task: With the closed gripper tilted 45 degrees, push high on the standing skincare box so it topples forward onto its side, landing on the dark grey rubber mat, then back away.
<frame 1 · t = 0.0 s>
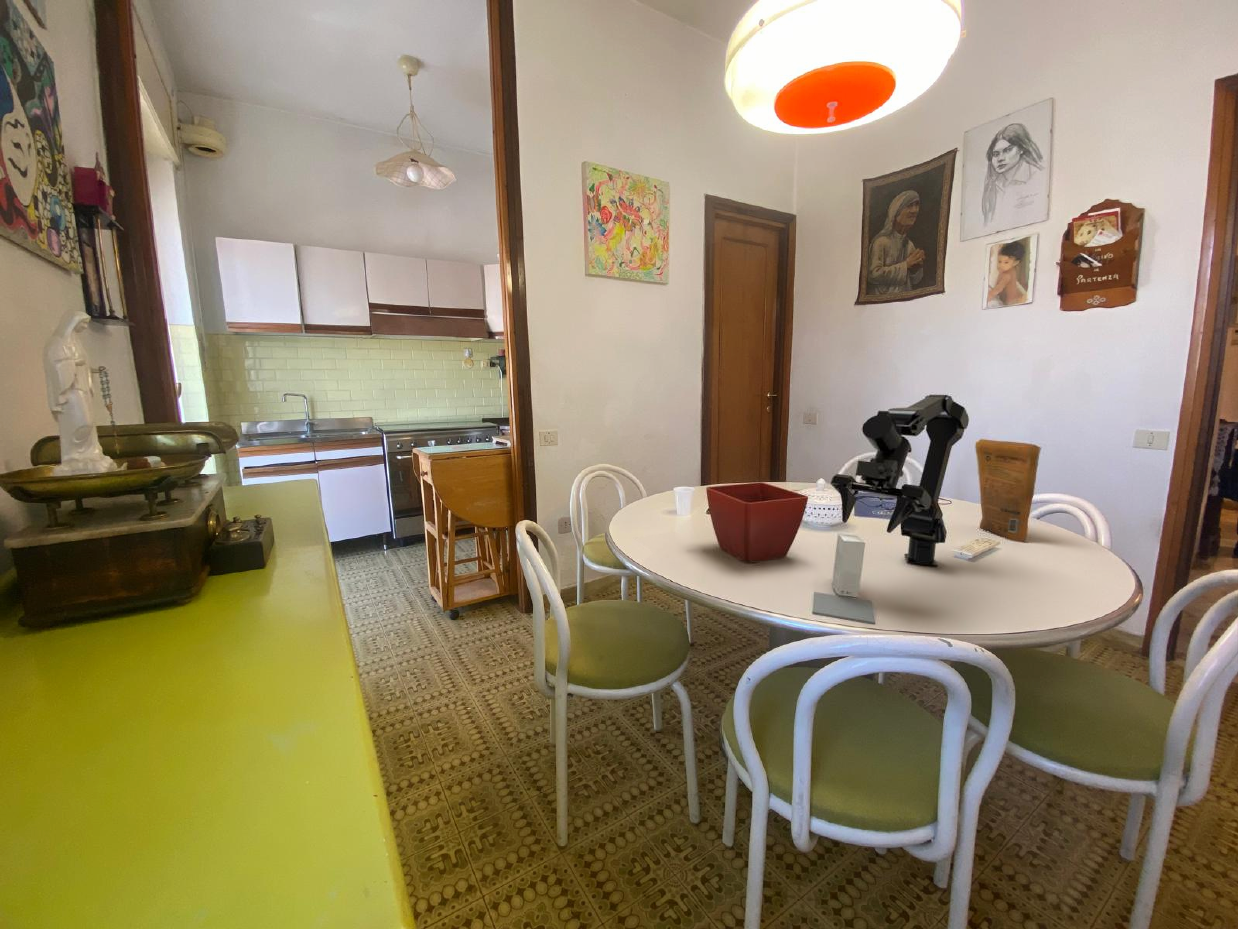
hand: (865, 527, 102), 15 cm above the table, tool tilted 35°, fingers open, 9 cm apart
skincare box: (844, 592, 105), on the table, touching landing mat
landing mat: (842, 607, 98), on the table
plant pot: (752, 553, 130), on the table
pancake mix bag: (998, 534, 146), on the table
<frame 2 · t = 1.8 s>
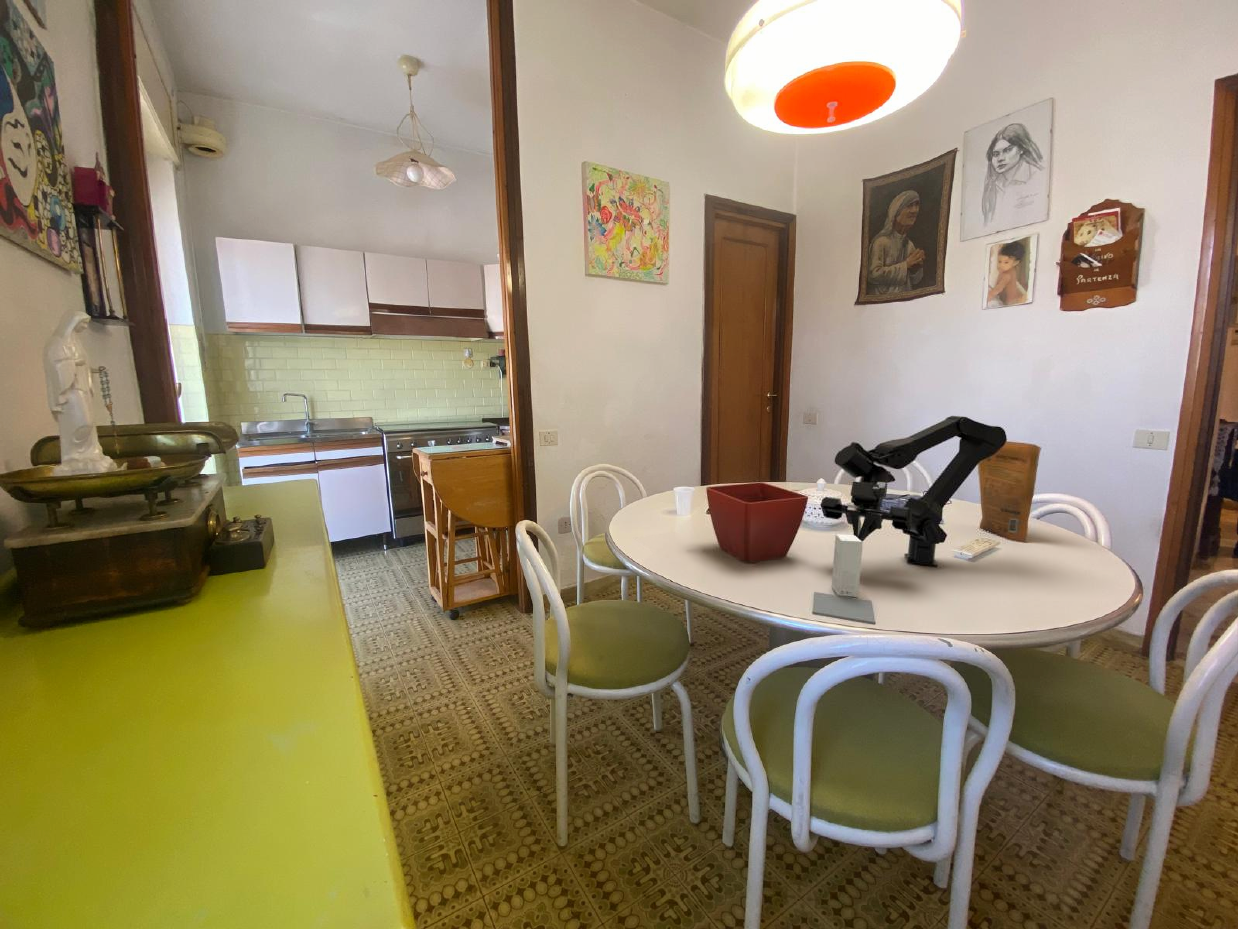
hand: (856, 544, 110), 9 cm above the table, tool tilted 45°, fingers closed
nothing on the table moved.
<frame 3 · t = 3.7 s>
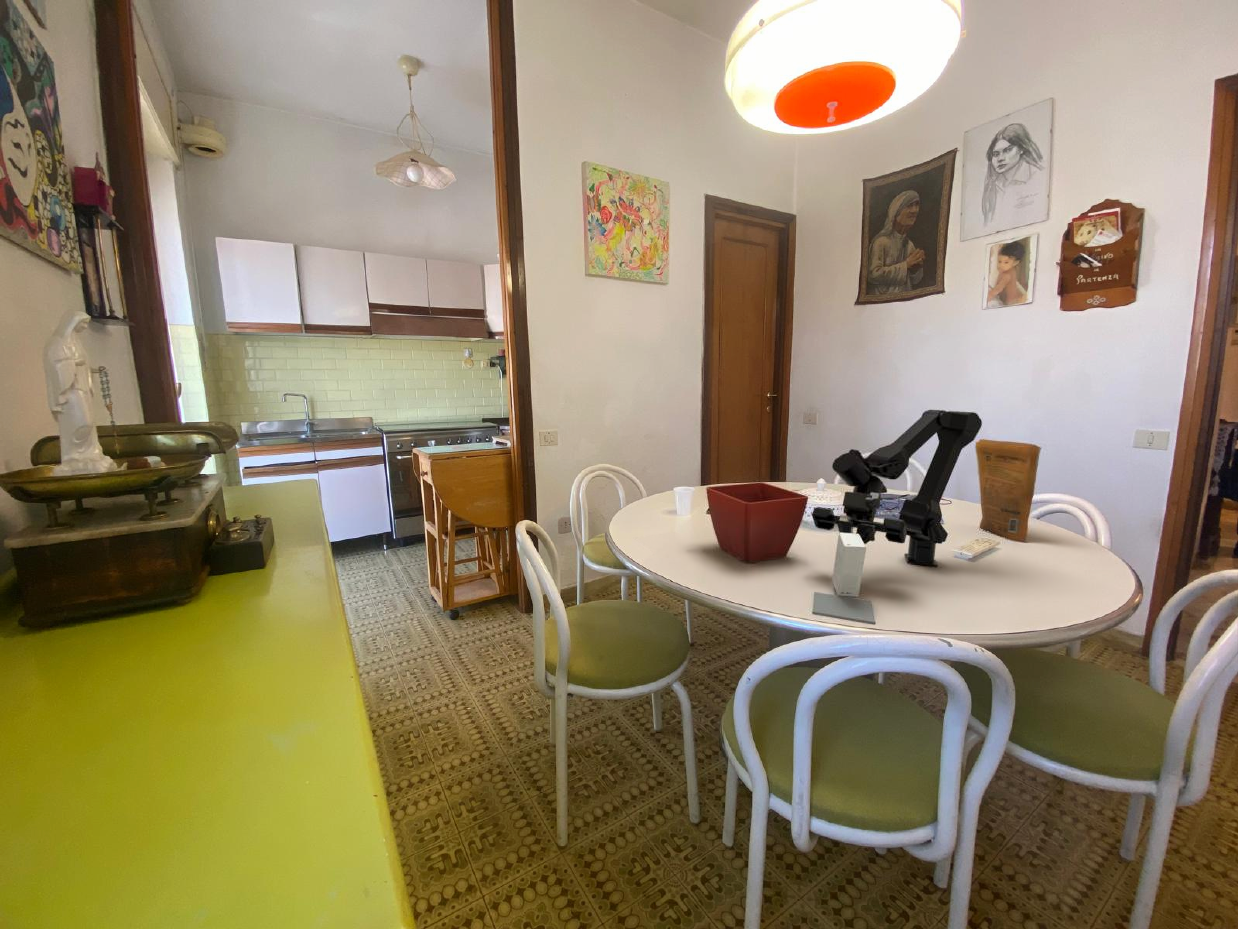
hand: (848, 556, 106), 7 cm above the table, tool tilted 45°, fingers closed
skincare box: (844, 589, 105), point 1 cm above the table, touching gripper, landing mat
everything else where it was.
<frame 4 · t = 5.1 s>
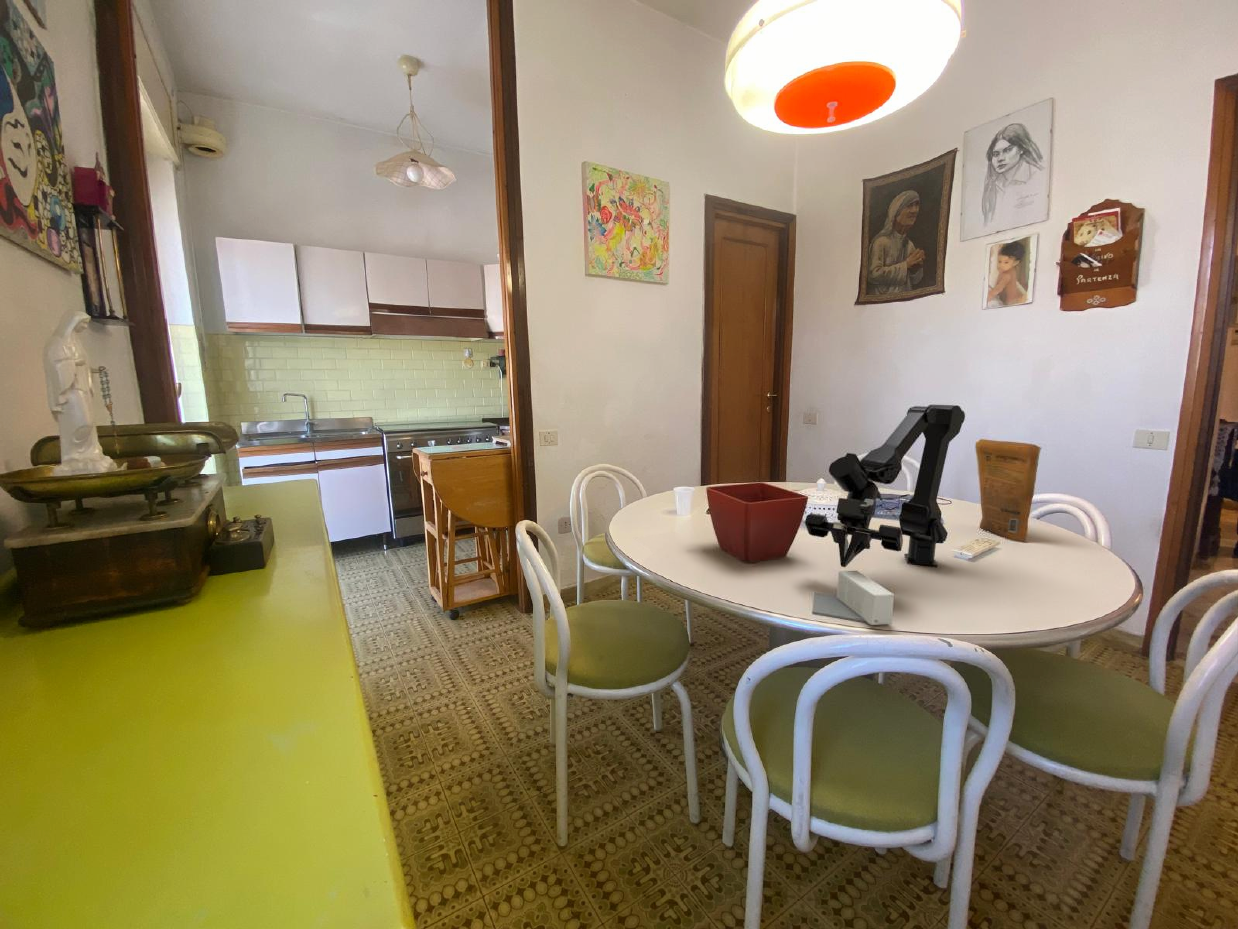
hand: (842, 566, 102), 7 cm above the table, tool tilted 45°, fingers closed
skincare box: (846, 583, 102), point 3 cm above the table, touching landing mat
everything else where it was.
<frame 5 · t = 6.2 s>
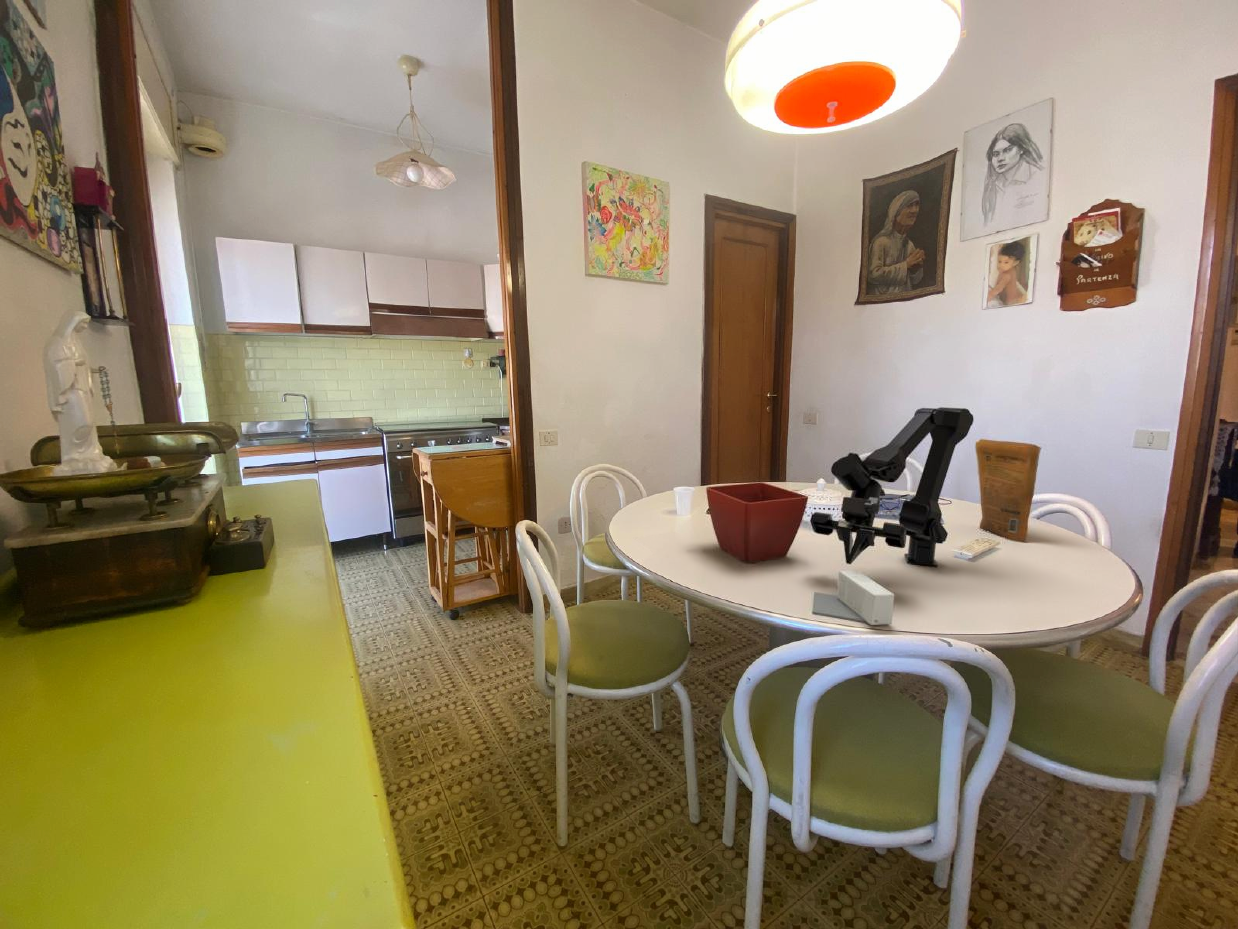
hand: (848, 563, 104), 7 cm above the table, tool tilted 45°, fingers closed
nothing on the table moved.
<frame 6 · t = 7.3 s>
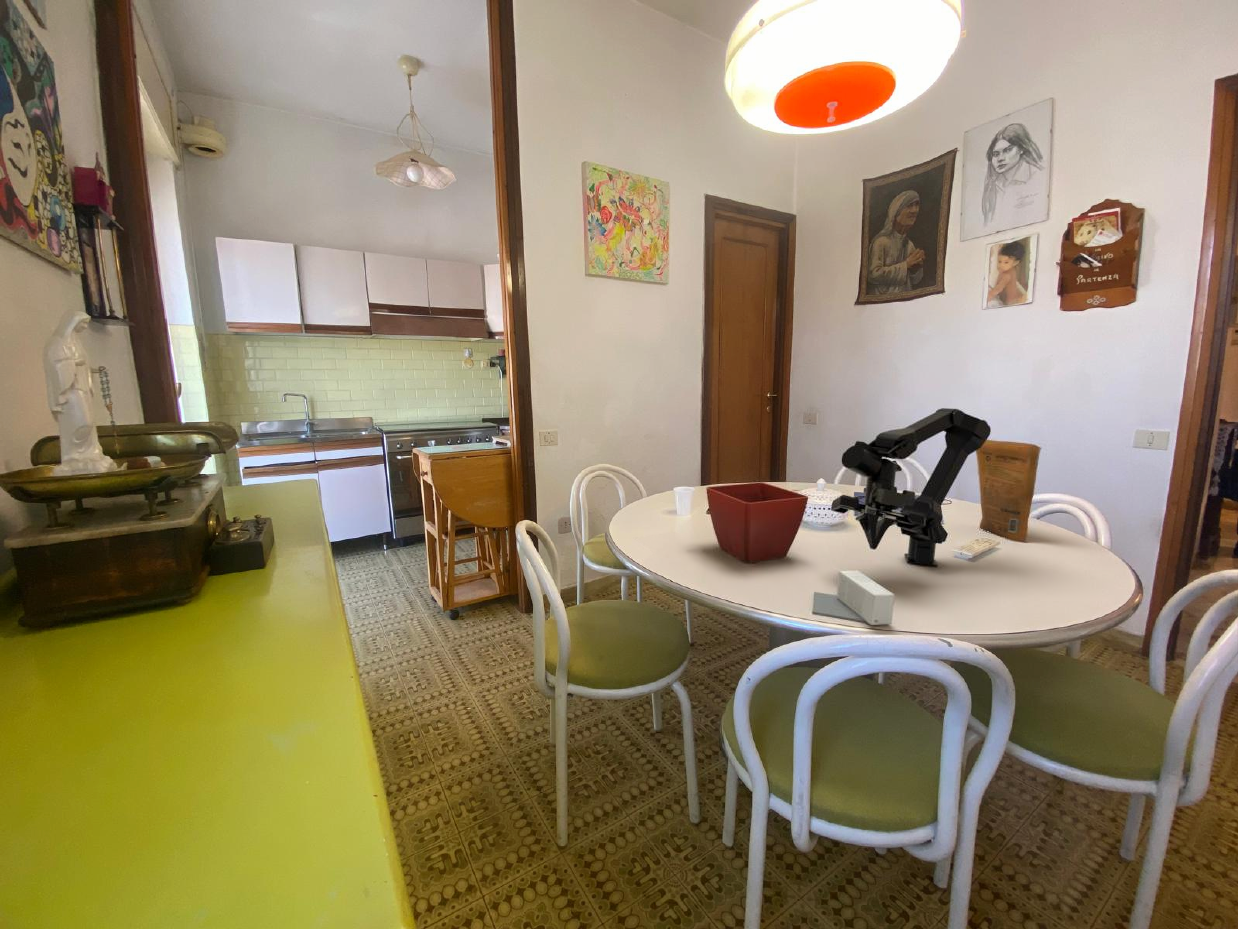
hand: (873, 549, 109), 8 cm above the table, tool tilted 30°, fingers closed
nothing on the table moved.
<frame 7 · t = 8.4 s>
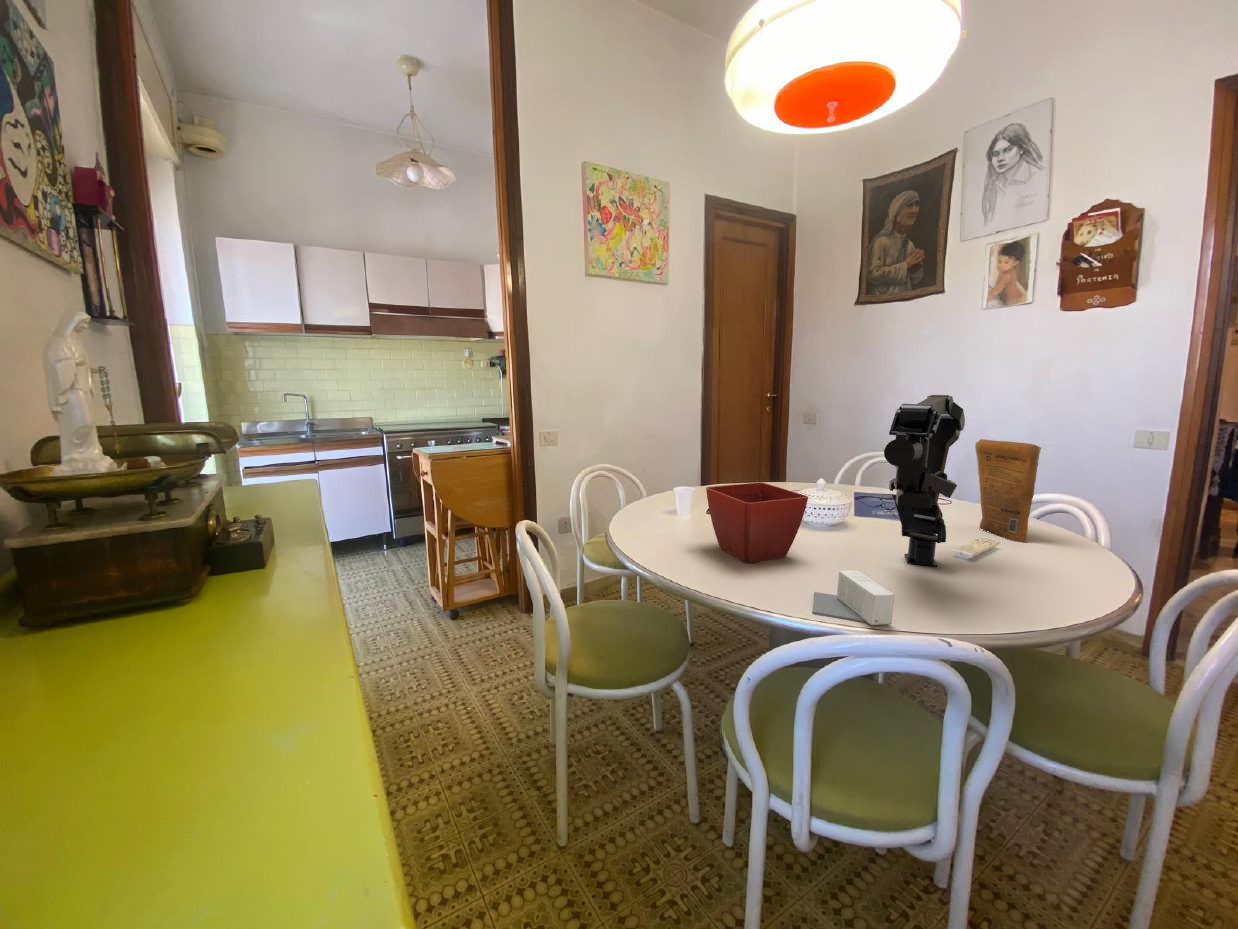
hand: (905, 529, 110), 12 cm above the table, tool pointing down, fingers closed
nothing on the table moved.
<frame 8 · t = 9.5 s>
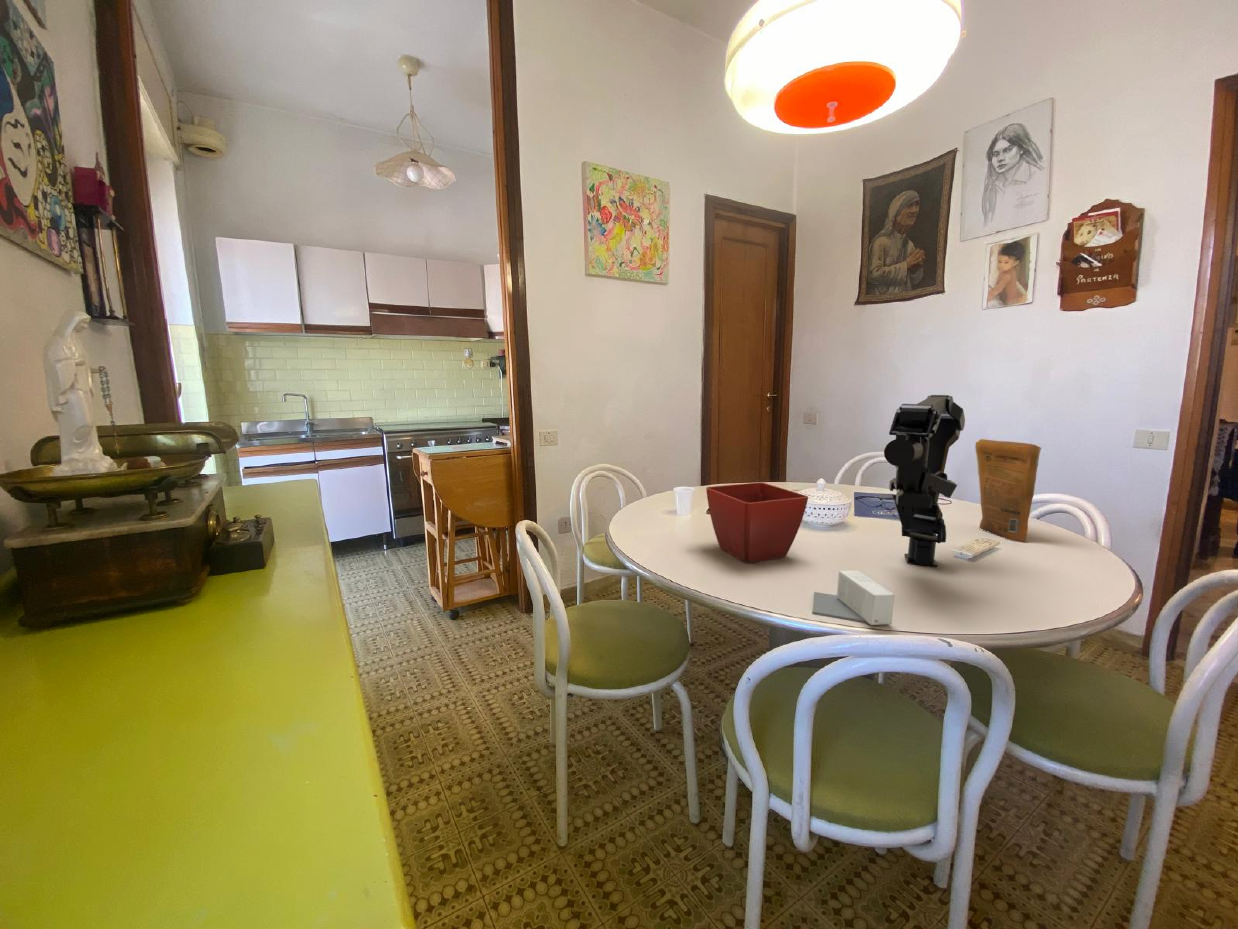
hand: (905, 529, 110), 12 cm above the table, tool pointing down, fingers closed
nothing on the table moved.
at the end: skincare box tilted 91°; skincare box inside the target area (3.9 cm from its centre), point 3.5 cm above the table; the gripper is holding nothing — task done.
